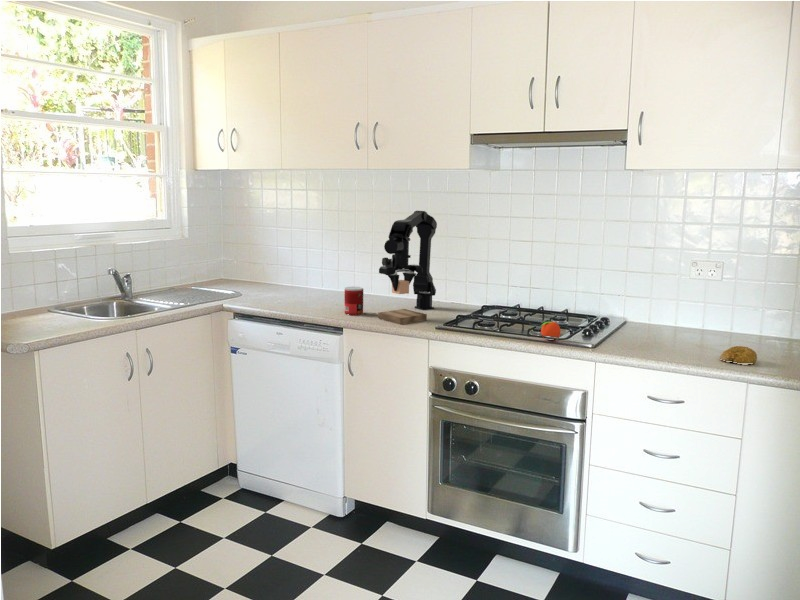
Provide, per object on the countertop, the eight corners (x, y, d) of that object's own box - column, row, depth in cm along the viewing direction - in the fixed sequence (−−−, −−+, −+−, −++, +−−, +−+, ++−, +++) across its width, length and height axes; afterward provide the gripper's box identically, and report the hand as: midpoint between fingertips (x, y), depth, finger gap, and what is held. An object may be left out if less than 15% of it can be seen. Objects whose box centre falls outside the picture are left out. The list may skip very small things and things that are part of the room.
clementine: (543, 343, 236) (544, 323, 235) (534, 338, 243) (535, 319, 241) (563, 342, 238) (565, 322, 237) (554, 337, 245) (555, 318, 244)
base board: (404, 314, 282) (404, 308, 282) (426, 320, 272) (426, 314, 271) (378, 318, 273) (378, 312, 273) (400, 324, 263) (400, 318, 262)
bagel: (714, 357, 221) (715, 343, 221) (748, 359, 221) (750, 344, 220) (726, 365, 212) (727, 351, 211) (762, 367, 211) (763, 352, 210)
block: (401, 291, 277) (401, 279, 276) (408, 293, 273) (409, 281, 272) (391, 292, 273) (392, 280, 273) (399, 294, 270) (399, 281, 269)
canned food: (360, 316, 278) (360, 289, 276) (342, 314, 280) (342, 288, 278) (365, 312, 286) (365, 287, 284) (347, 311, 287) (347, 286, 285)
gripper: (406, 250, 282) (405, 286, 285) (371, 251, 271) (370, 289, 273) (423, 252, 274) (422, 290, 276) (388, 253, 262) (387, 293, 265)
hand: (400, 290), depth 273 cm, fingers closed on block, 5 cm apart
